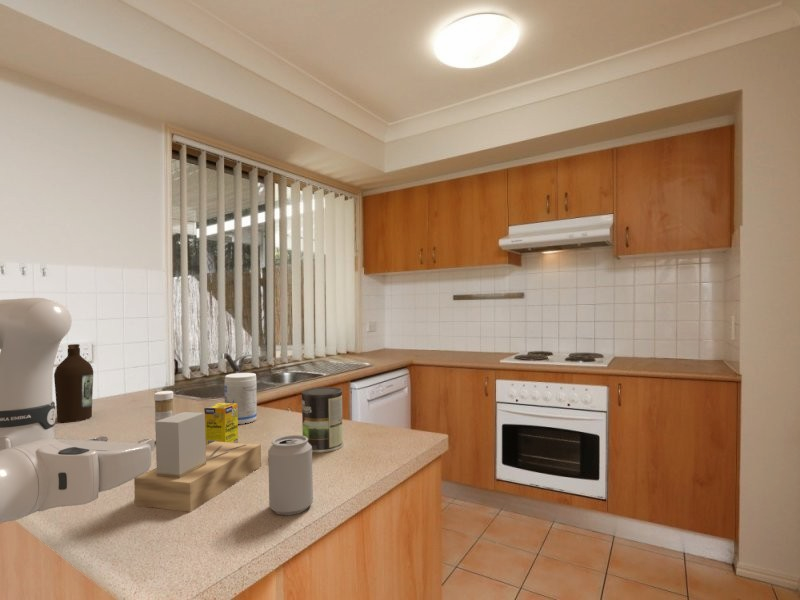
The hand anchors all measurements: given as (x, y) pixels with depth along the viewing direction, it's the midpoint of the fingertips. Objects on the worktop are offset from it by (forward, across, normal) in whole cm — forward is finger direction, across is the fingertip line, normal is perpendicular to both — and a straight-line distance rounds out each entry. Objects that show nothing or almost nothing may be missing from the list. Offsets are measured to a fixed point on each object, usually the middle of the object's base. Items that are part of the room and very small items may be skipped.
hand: (127, 442), depth 72 cm
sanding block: (+12, 0, -9) cm, 15 cm away
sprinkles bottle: (+41, -32, -14) cm, 54 cm away
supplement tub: (+64, -24, -14) cm, 70 cm away
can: (+13, +22, -14) cm, 29 cm away
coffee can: (+45, +13, -14) cm, 49 cm away
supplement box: (+39, -12, -14) cm, 44 cm away
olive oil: (+57, -83, -14) cm, 102 cm away
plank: (+18, 0, -14) cm, 23 cm away
